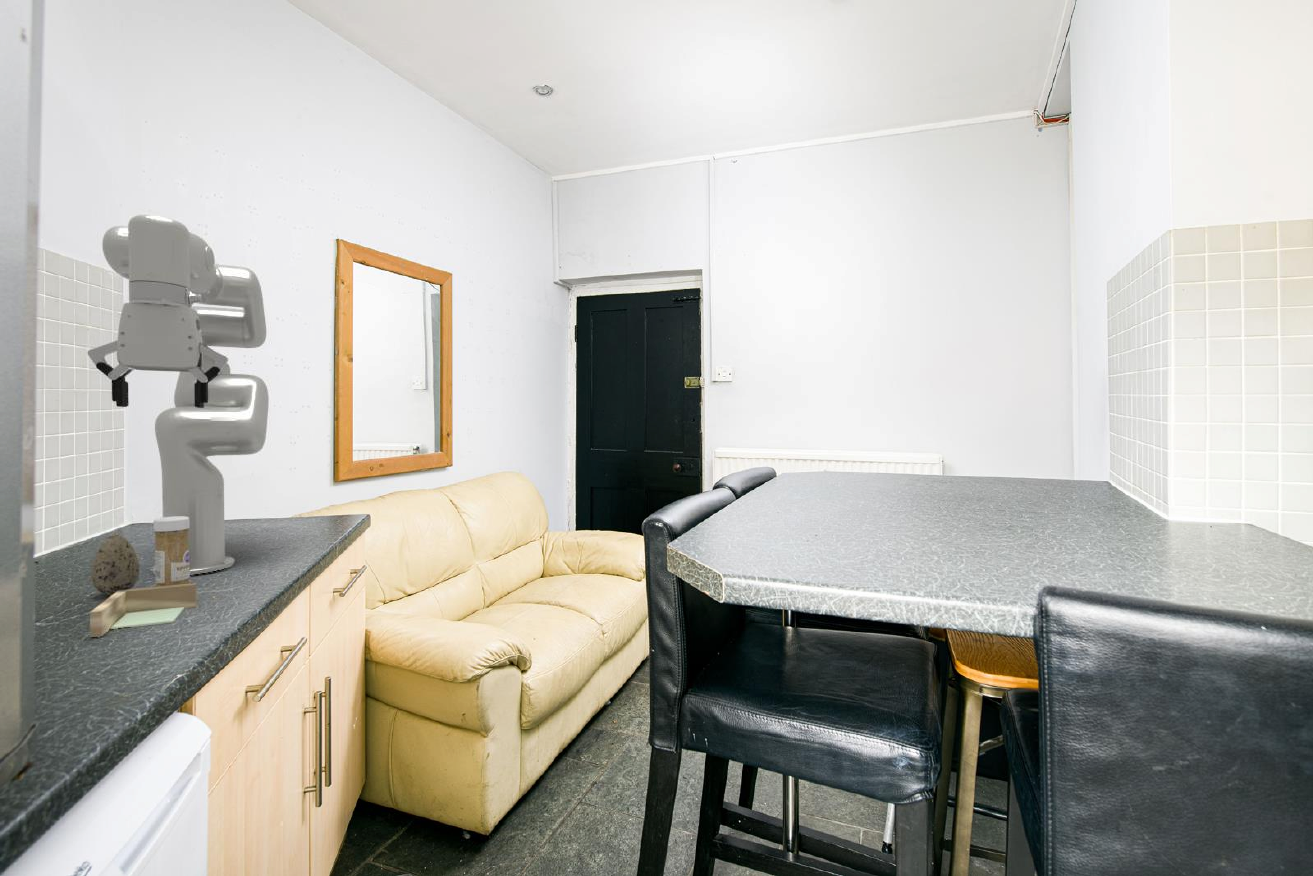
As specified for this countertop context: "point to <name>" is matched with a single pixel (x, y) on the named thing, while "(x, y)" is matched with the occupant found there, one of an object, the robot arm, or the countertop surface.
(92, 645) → the countertop surface
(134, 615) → the pad
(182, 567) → the sprinkles bottle
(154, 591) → the corner walls
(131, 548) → the decorative egg
